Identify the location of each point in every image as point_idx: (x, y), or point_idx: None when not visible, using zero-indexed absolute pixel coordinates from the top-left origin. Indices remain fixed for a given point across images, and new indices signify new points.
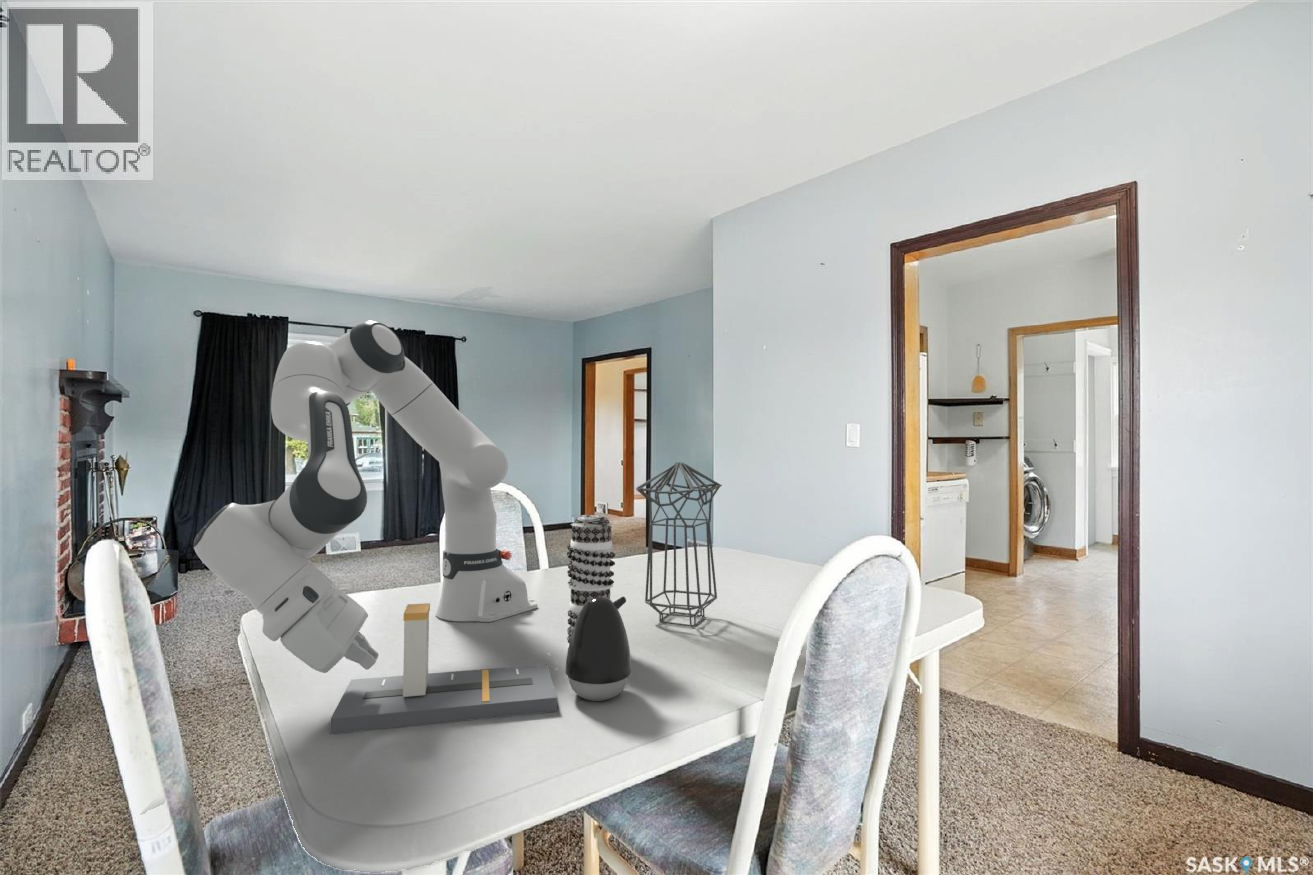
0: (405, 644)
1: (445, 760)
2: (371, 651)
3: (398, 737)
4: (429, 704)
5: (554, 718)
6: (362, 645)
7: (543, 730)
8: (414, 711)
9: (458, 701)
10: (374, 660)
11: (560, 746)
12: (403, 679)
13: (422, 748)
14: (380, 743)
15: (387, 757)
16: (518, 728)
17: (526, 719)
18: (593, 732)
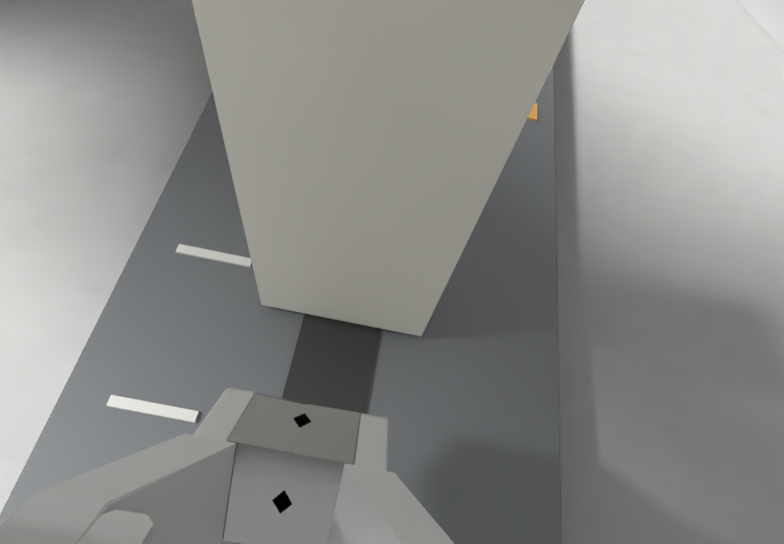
0: (499, 168)
1: (779, 285)
2: (282, 435)
3: (617, 394)
4: (508, 257)
5: (574, 37)
6: (164, 520)
7: (634, 71)
8: (557, 313)
9: (511, 173)
10: (386, 424)
11: (716, 71)
12: (436, 300)
13: (705, 331)
14: (656, 459)
15: (760, 440)
16: (614, 106)
17: (566, 80)
18: (658, 11)
